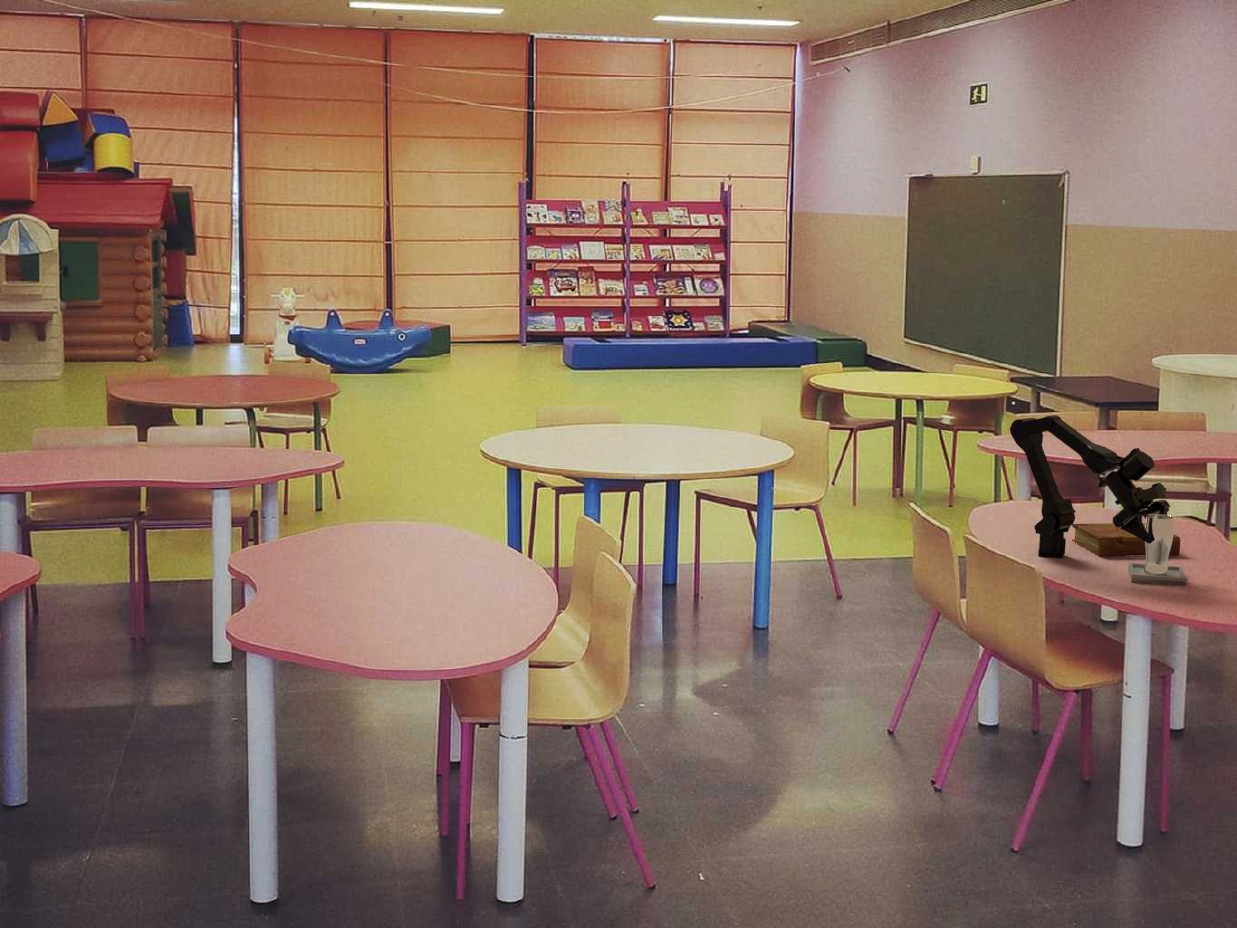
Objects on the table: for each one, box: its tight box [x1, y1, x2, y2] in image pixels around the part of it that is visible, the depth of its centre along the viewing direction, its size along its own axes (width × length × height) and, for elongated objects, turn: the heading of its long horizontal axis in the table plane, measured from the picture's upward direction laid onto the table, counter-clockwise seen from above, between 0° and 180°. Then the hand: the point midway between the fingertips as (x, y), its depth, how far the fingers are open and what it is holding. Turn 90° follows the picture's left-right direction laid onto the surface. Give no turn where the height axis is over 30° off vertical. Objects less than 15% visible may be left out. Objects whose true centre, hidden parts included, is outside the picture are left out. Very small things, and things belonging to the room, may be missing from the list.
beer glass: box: [1143, 514, 1175, 576], centre depth 356 cm, size 7×7×15 cm
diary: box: [1071, 522, 1181, 557], centre depth 390 cm, size 23×19×6 cm
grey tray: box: [1127, 562, 1187, 587], centre depth 357 cm, size 13×13×2 cm
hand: (1160, 540), depth 356 cm, fingers open, 9 cm apart
